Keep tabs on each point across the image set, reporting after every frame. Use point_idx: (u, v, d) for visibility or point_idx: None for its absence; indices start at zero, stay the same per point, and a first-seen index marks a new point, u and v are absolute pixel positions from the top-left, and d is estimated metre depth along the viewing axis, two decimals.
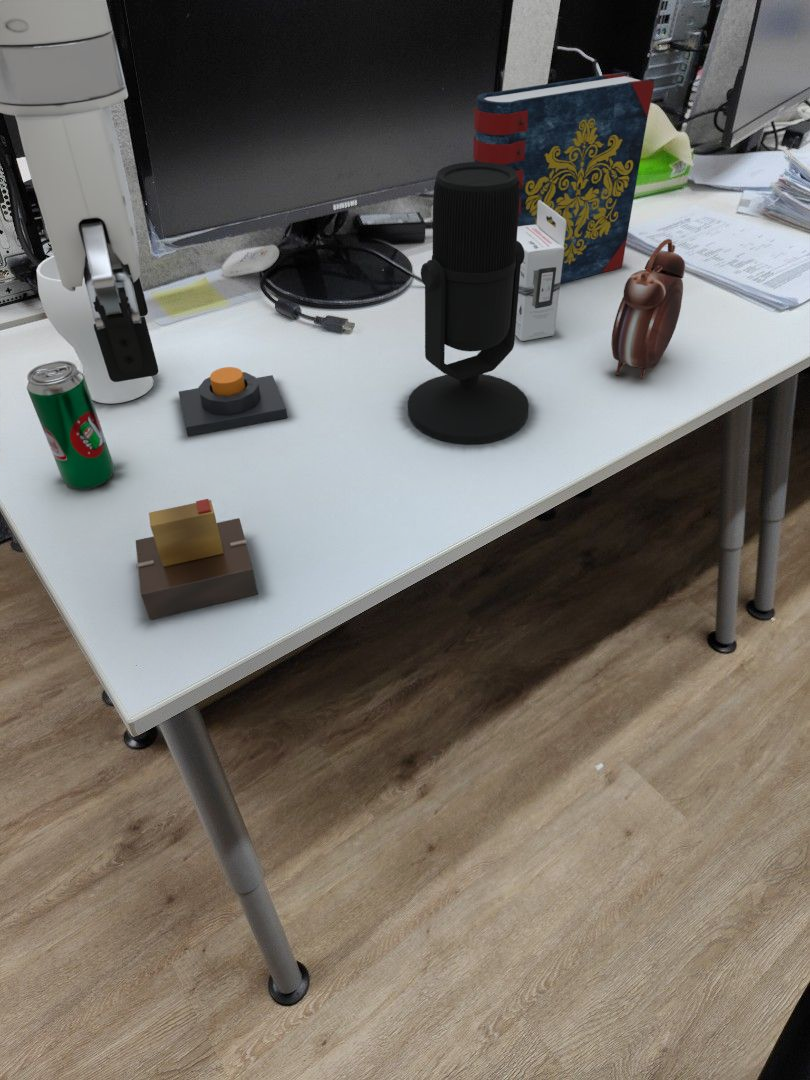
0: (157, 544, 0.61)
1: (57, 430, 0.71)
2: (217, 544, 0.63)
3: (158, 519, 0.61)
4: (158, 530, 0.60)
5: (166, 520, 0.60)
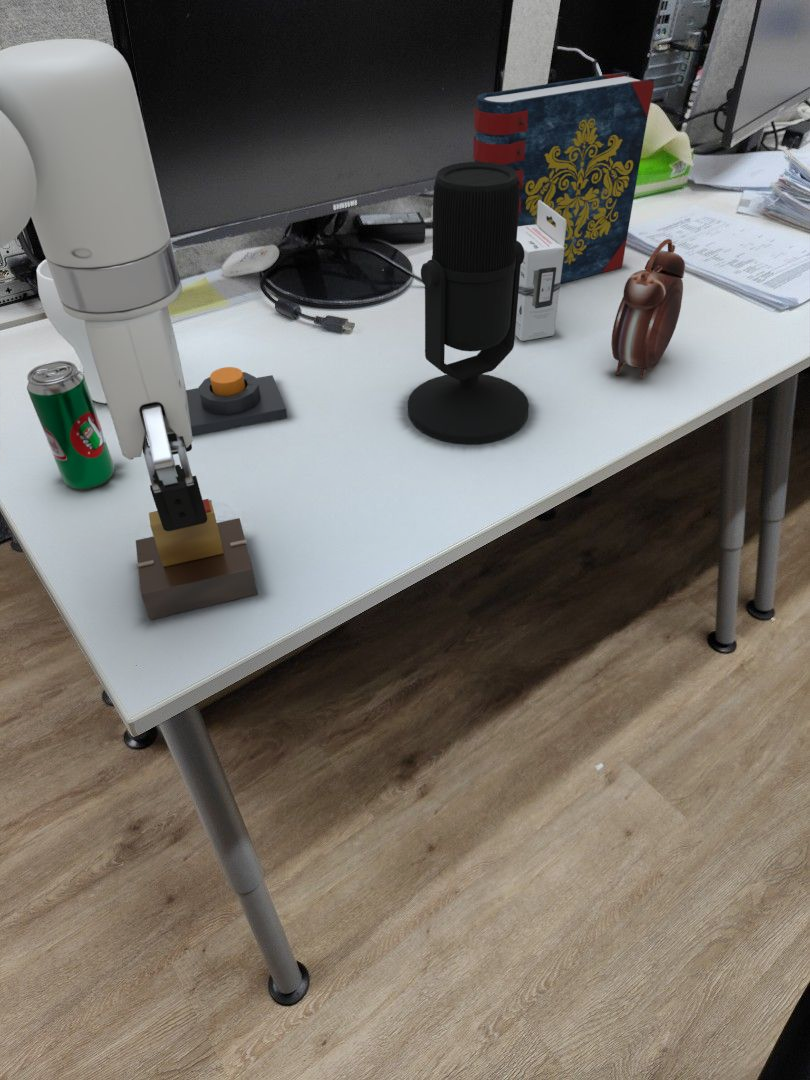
0: (157, 544, 0.61)
1: (57, 430, 0.71)
2: (217, 544, 0.63)
3: (158, 519, 0.61)
4: (158, 530, 0.60)
5: None
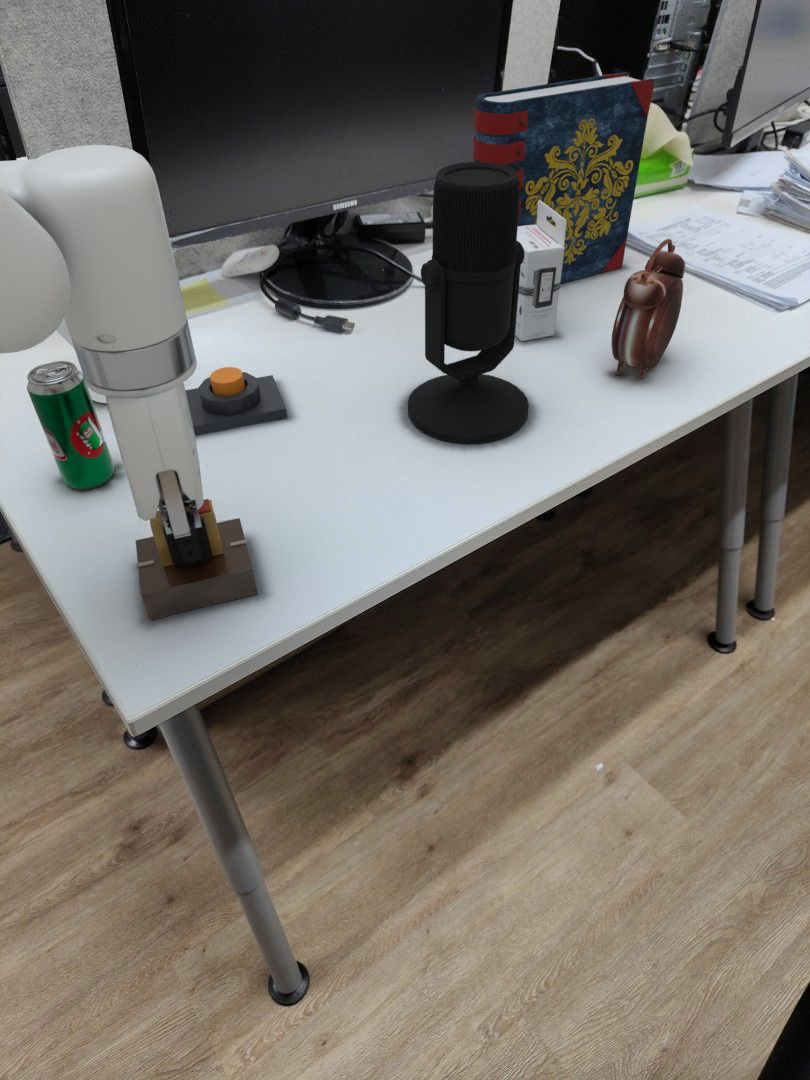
0: (157, 544, 0.61)
1: (57, 430, 0.71)
2: (217, 544, 0.63)
3: (158, 519, 0.61)
4: (158, 530, 0.60)
5: None
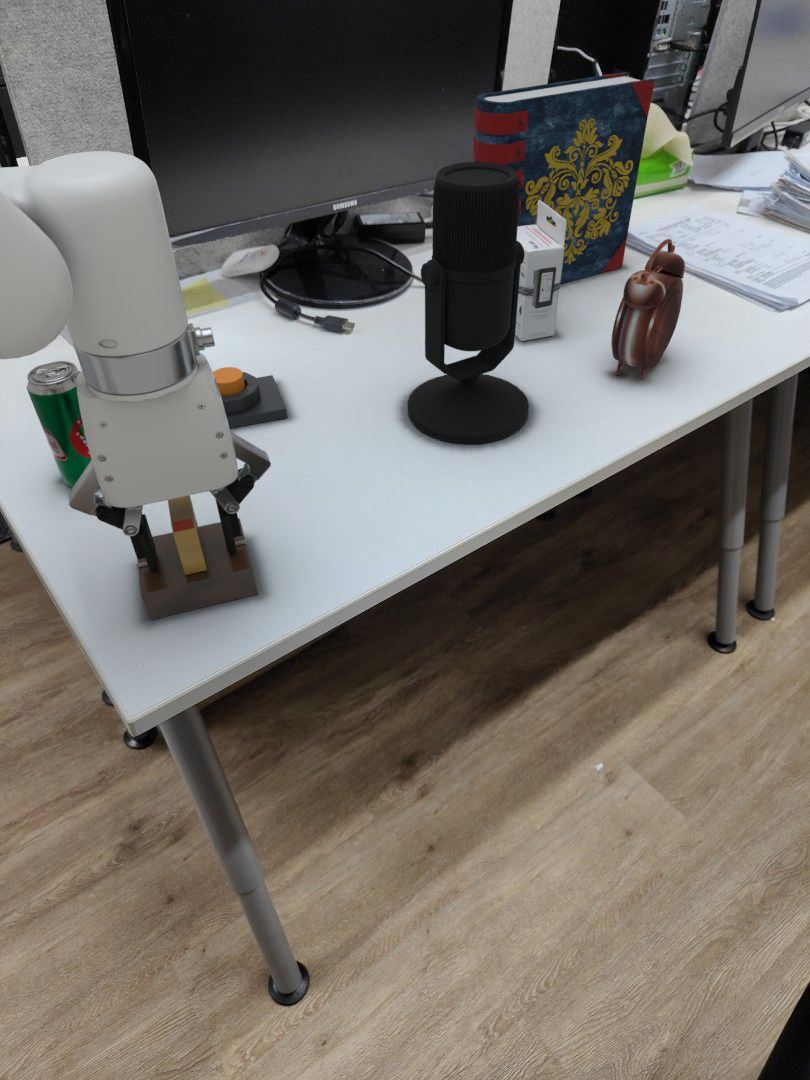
0: None
1: (57, 430, 0.71)
2: (181, 562, 0.62)
3: (175, 499, 0.62)
4: None
5: (172, 505, 0.62)
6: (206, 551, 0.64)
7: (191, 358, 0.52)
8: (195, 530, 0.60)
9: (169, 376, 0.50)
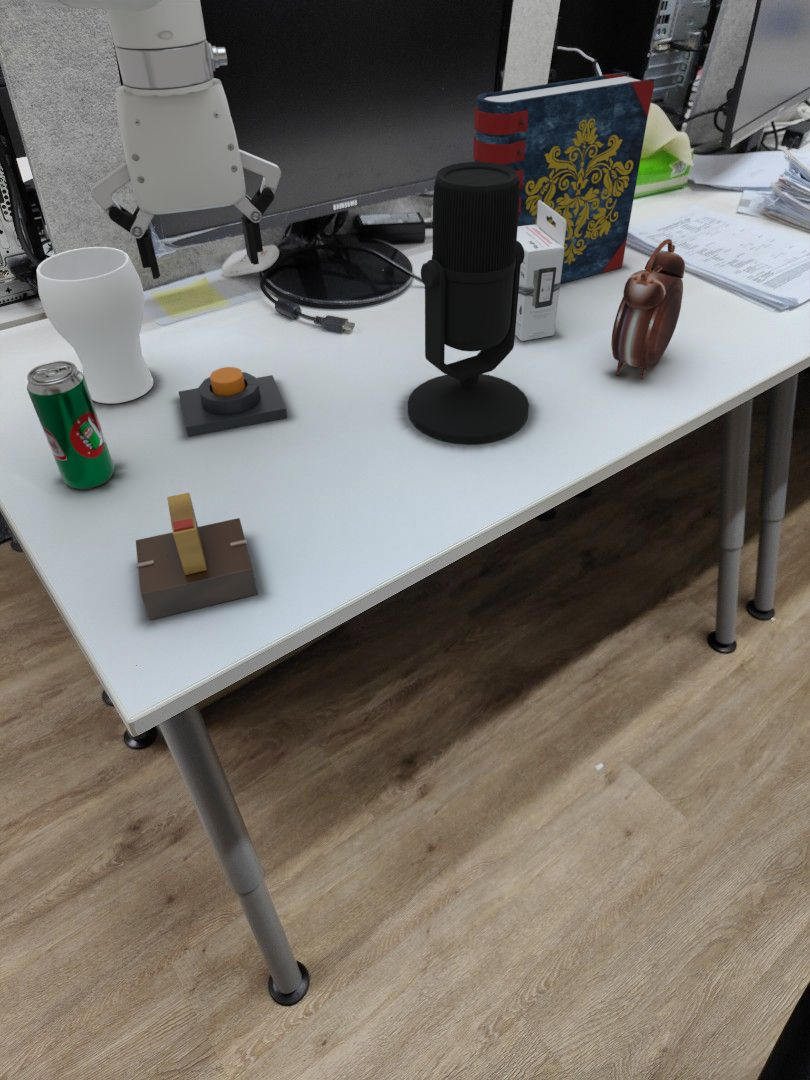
0: None
1: (57, 430, 0.71)
2: (181, 562, 0.62)
3: (175, 499, 0.62)
4: None
5: (172, 505, 0.62)
6: (206, 551, 0.64)
7: (208, 68, 0.64)
8: (195, 530, 0.60)
9: (191, 75, 0.63)
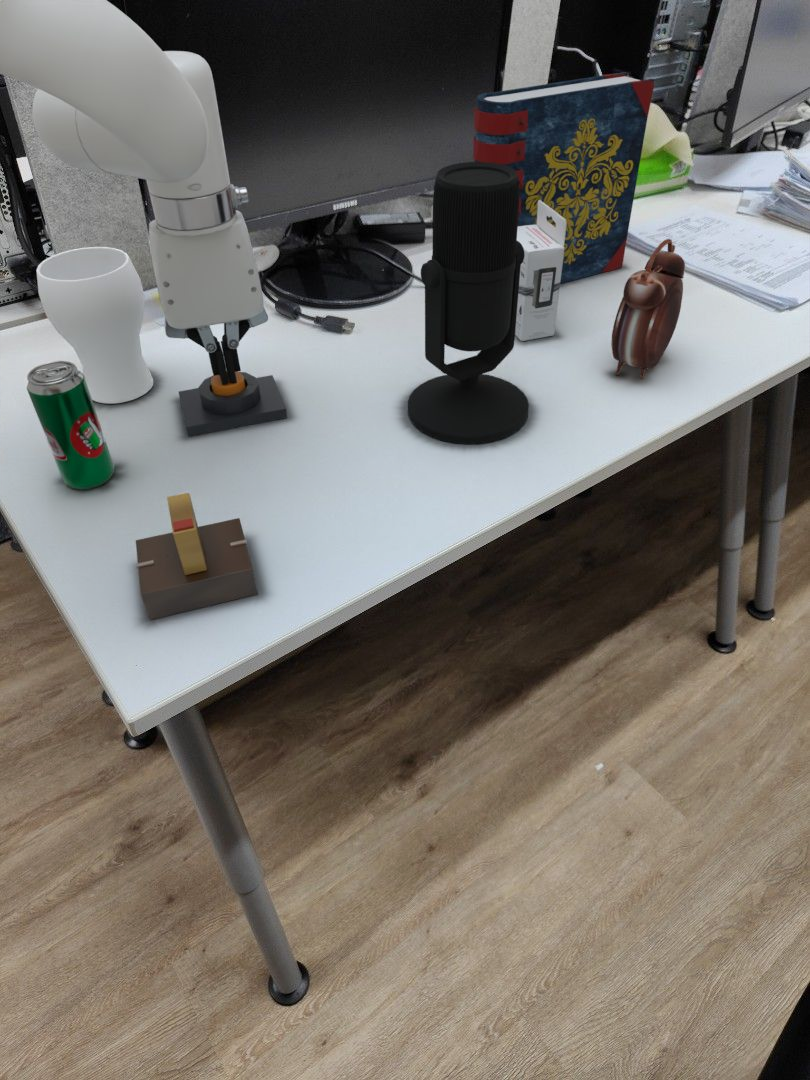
0: None
1: (57, 430, 0.71)
2: (181, 562, 0.62)
3: (175, 499, 0.62)
4: None
5: (172, 505, 0.62)
6: (206, 551, 0.64)
7: (232, 208, 0.72)
8: (195, 530, 0.60)
9: (217, 217, 0.70)
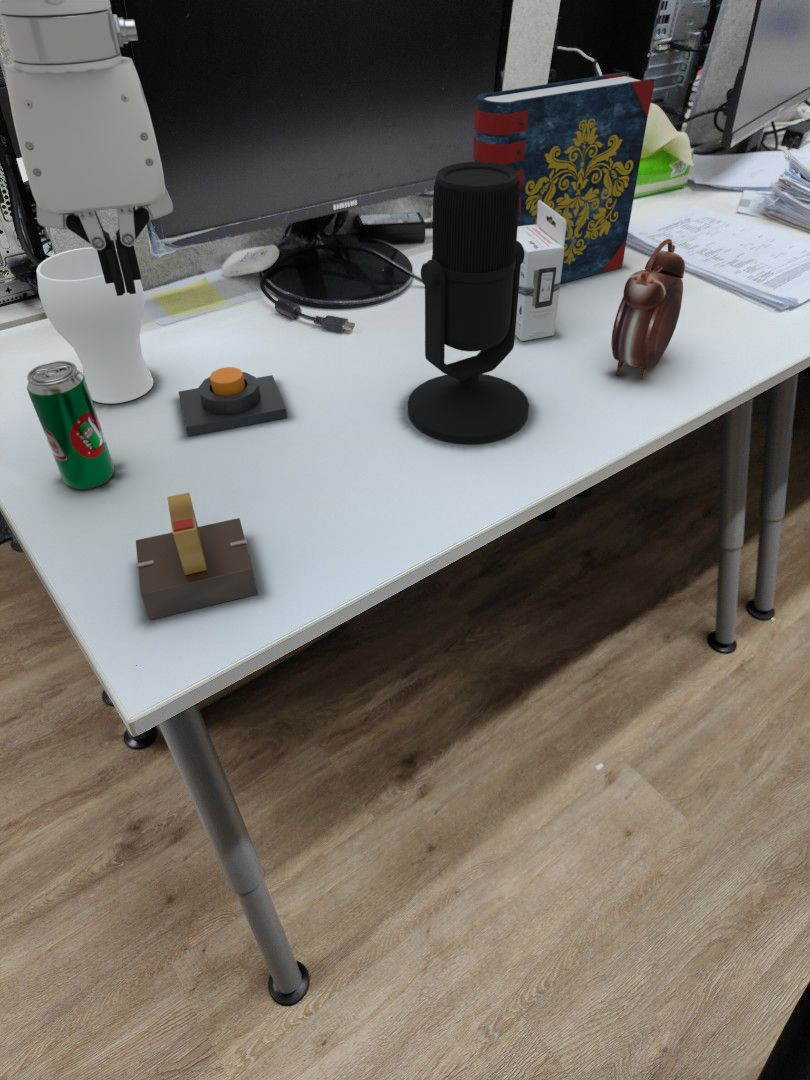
0: None
1: (57, 430, 0.71)
2: (181, 562, 0.62)
3: (175, 499, 0.62)
4: None
5: (172, 505, 0.62)
6: (206, 551, 0.64)
7: (113, 42, 0.55)
8: (195, 530, 0.60)
9: (90, 50, 0.53)
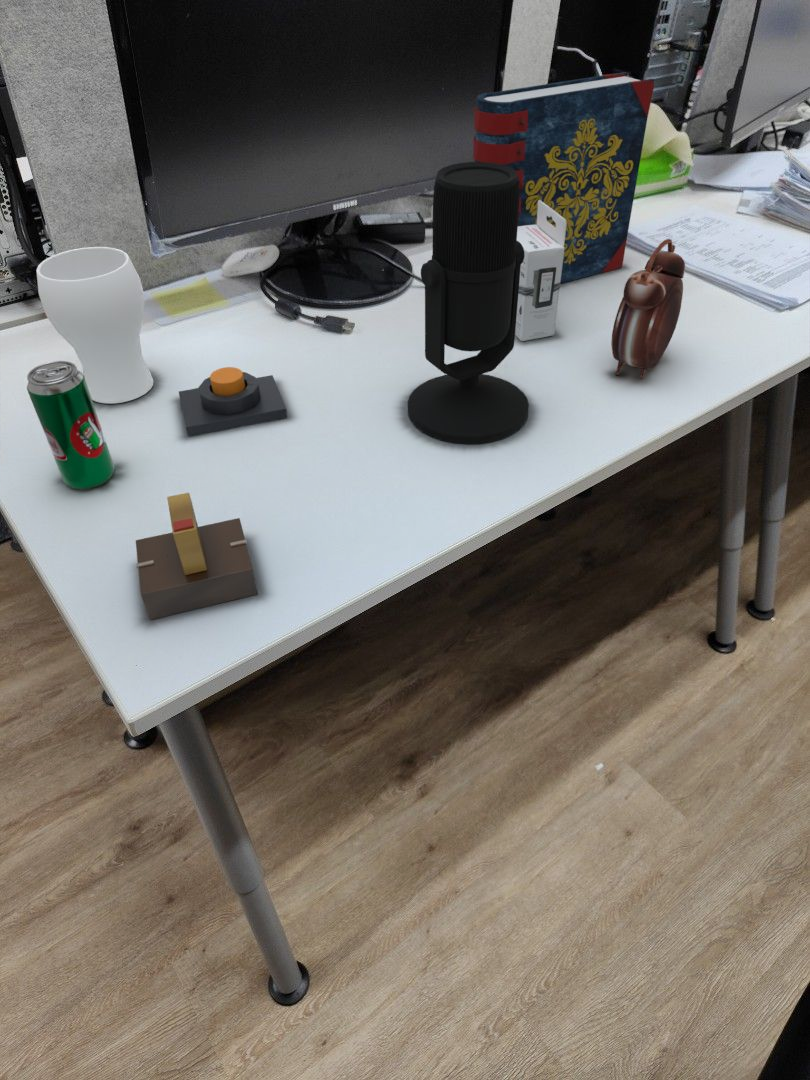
0: None
1: (57, 430, 0.71)
2: (181, 562, 0.62)
3: (175, 499, 0.62)
4: None
5: (172, 505, 0.62)
6: (206, 551, 0.64)
7: None
8: (195, 530, 0.60)
9: None
